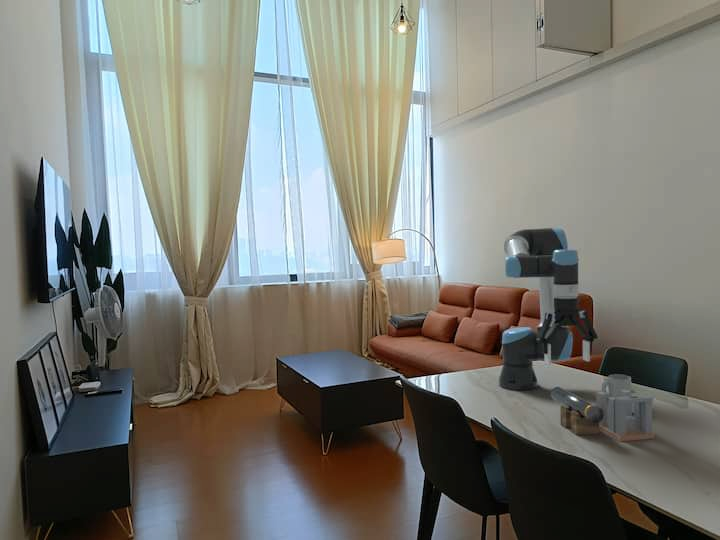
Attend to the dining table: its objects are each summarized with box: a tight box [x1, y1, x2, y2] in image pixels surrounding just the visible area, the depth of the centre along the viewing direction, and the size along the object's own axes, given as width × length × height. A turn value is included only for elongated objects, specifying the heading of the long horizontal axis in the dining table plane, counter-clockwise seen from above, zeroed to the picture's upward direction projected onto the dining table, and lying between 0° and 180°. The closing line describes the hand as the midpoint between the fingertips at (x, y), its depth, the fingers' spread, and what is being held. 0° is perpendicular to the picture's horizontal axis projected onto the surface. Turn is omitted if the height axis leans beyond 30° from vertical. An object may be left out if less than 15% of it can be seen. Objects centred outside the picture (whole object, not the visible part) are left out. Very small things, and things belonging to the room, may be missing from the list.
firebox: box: [595, 390, 656, 442], centre depth 154 cm, size 19×11×12 cm, turn 7°
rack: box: [559, 404, 600, 436], centre depth 155 cm, size 9×7×6 cm
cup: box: [600, 373, 632, 399], centre depth 179 cm, size 7×10×9 cm
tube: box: [550, 386, 604, 423], centre depth 156 cm, size 22×5×5 cm, turn 7°
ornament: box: [619, 385, 639, 414], centre depth 167 cm, size 6×7×10 cm
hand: (567, 362), depth 163 cm, fingers open, 13 cm apart
